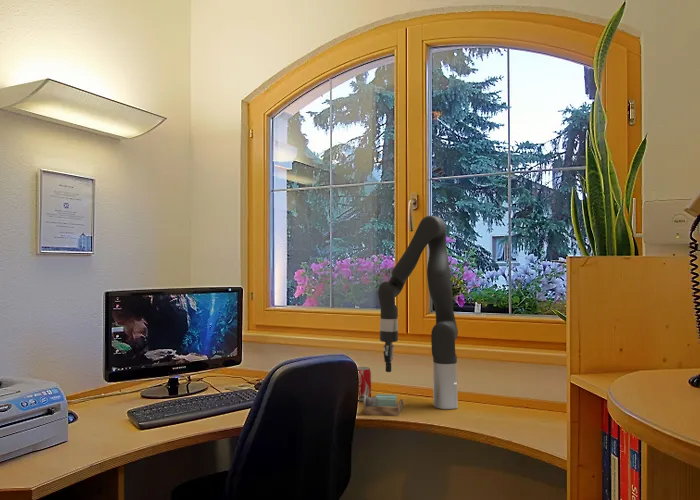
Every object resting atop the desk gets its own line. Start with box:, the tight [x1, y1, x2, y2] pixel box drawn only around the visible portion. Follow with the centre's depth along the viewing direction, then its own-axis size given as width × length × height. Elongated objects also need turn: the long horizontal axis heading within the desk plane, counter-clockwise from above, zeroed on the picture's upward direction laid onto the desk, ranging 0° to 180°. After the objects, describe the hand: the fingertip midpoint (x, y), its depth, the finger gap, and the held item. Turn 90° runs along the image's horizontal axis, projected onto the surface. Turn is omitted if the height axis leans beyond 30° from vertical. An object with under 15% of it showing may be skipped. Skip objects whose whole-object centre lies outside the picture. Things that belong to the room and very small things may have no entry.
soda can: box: [357, 366, 372, 402], centre depth 227 cm, size 7×7×13 cm
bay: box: [360, 395, 404, 417], centre depth 209 cm, size 14×17×7 cm
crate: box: [374, 393, 398, 407], centre depth 215 cm, size 8×8×4 cm
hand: (388, 371), depth 225 cm, fingers closed
